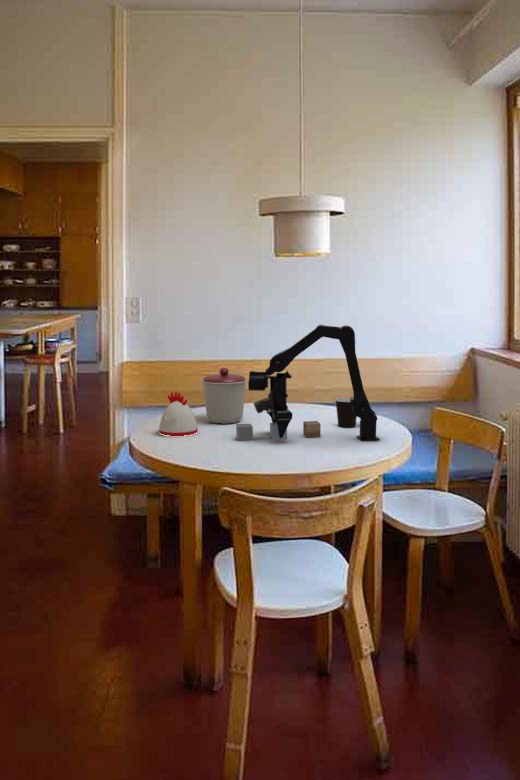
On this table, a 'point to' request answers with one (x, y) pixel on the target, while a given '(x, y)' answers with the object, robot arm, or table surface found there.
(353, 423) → the coffee mug
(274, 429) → the slate blue block
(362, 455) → the table surface
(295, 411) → the table surface
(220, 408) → the canister
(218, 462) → the table surface
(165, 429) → the kitchen timer
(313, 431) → the walnut block
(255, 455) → the table surface
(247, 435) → the charcoal block
